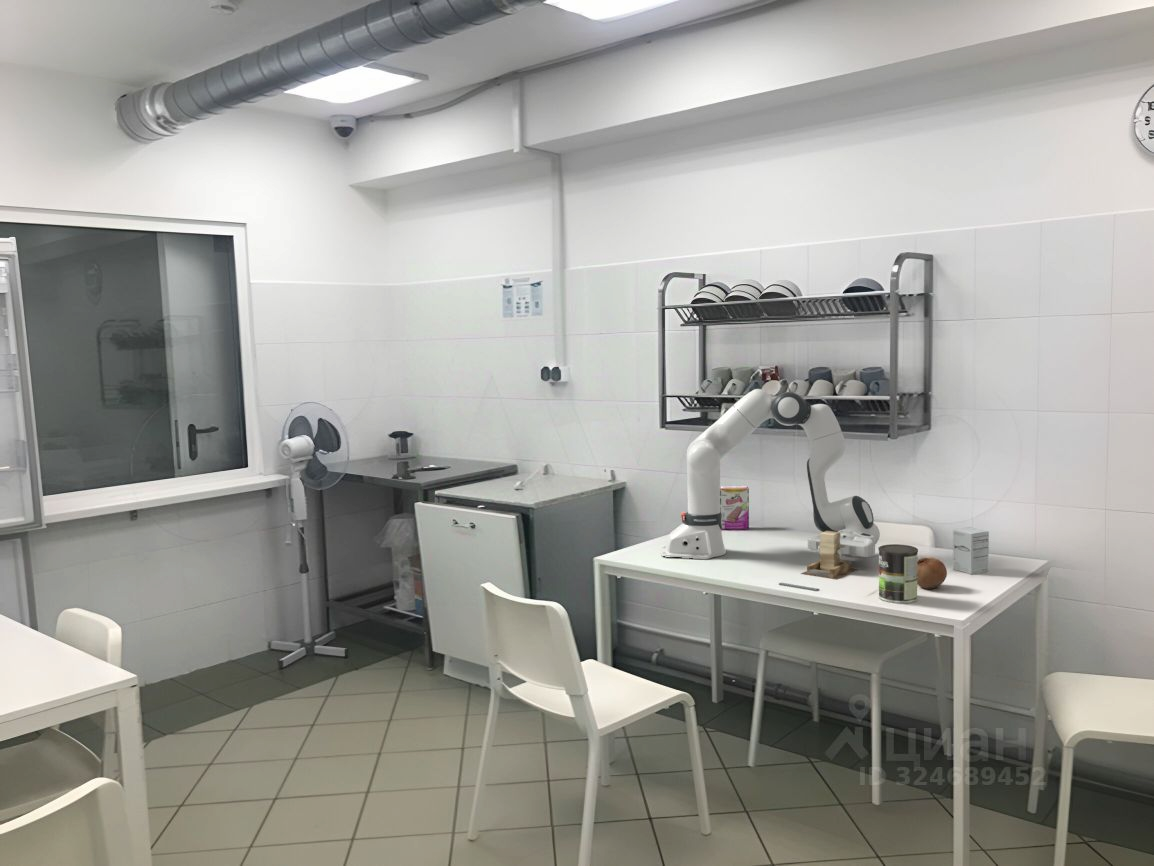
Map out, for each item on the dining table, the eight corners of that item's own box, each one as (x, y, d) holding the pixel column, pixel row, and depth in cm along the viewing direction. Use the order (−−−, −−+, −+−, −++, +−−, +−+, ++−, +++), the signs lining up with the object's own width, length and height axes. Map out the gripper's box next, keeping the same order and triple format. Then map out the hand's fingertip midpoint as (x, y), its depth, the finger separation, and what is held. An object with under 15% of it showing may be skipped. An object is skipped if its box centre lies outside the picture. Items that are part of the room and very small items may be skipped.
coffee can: (885, 604, 244) (885, 553, 242) (873, 593, 254) (873, 544, 253) (923, 603, 244) (923, 552, 242) (910, 592, 254) (910, 543, 252)
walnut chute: (836, 581, 268) (836, 571, 268) (800, 575, 276) (800, 565, 276) (858, 570, 279) (858, 561, 279) (823, 565, 287) (823, 556, 287)
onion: (920, 600, 256) (908, 571, 254) (916, 583, 265) (904, 555, 262) (954, 590, 253) (942, 561, 251) (949, 573, 262) (936, 544, 259)
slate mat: (816, 590, 259) (816, 589, 259) (779, 584, 267) (778, 583, 267) (835, 581, 268) (835, 580, 268) (798, 576, 276) (798, 574, 276)
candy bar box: (720, 530, 346) (719, 488, 344) (719, 527, 351) (718, 486, 349) (749, 530, 345) (748, 487, 343) (748, 527, 350) (747, 485, 348)
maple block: (833, 573, 275) (833, 535, 274) (820, 571, 278) (819, 533, 277) (840, 570, 278) (840, 532, 277) (827, 568, 281) (826, 530, 280)
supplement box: (952, 569, 277) (952, 529, 276) (970, 566, 280) (970, 526, 279) (971, 574, 270) (971, 533, 269) (989, 571, 273) (989, 530, 272)
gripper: (818, 529, 294) (798, 536, 284) (879, 536, 280) (860, 544, 270) (819, 548, 294) (798, 556, 284) (879, 556, 281) (860, 565, 270)
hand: (828, 550), depth 277 cm, fingers closed on maple block, 4 cm apart
